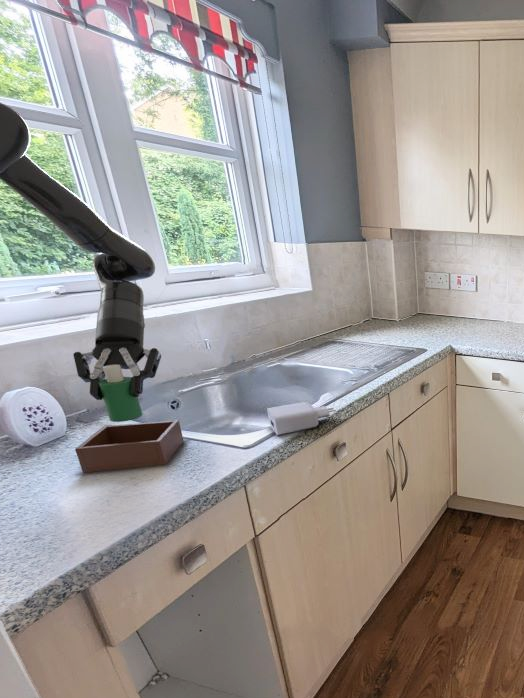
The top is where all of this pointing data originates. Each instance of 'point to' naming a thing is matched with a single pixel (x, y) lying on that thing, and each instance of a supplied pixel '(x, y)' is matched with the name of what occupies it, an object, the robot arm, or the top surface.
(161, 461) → the tray
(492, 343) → the top surface
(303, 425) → the charger
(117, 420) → the green bottle
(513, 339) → the top surface
